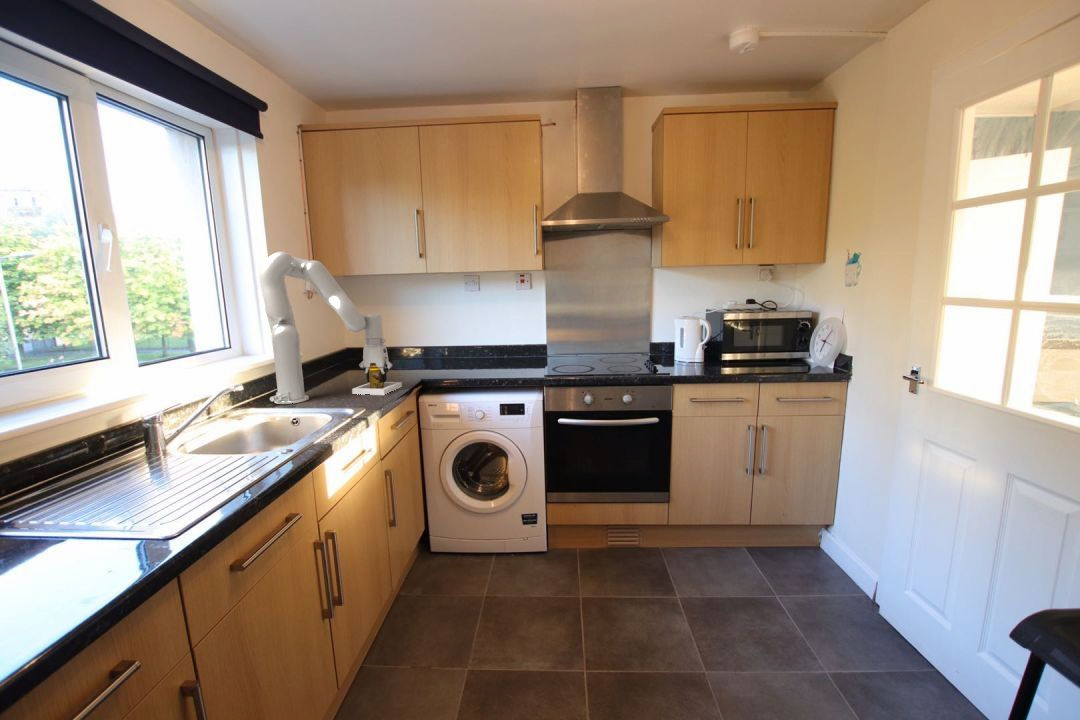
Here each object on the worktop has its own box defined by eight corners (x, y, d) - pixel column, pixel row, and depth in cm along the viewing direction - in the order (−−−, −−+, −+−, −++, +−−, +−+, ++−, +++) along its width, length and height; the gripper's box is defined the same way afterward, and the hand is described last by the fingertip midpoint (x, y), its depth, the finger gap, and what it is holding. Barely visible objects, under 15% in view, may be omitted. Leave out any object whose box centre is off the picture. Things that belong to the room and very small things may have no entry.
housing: (384, 395, 197) (383, 389, 197) (352, 394, 200) (352, 388, 200) (401, 387, 213) (401, 382, 212) (372, 387, 216) (371, 381, 215)
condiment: (380, 390, 202) (379, 363, 201) (362, 390, 203) (360, 363, 201) (388, 387, 209) (386, 360, 208) (370, 386, 210) (368, 360, 209)
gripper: (396, 341, 205) (398, 380, 208) (361, 341, 208) (363, 380, 211) (387, 342, 198) (390, 384, 200) (351, 342, 201) (354, 383, 204)
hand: (376, 381), depth 206 cm, fingers closed on condiment, 6 cm apart
